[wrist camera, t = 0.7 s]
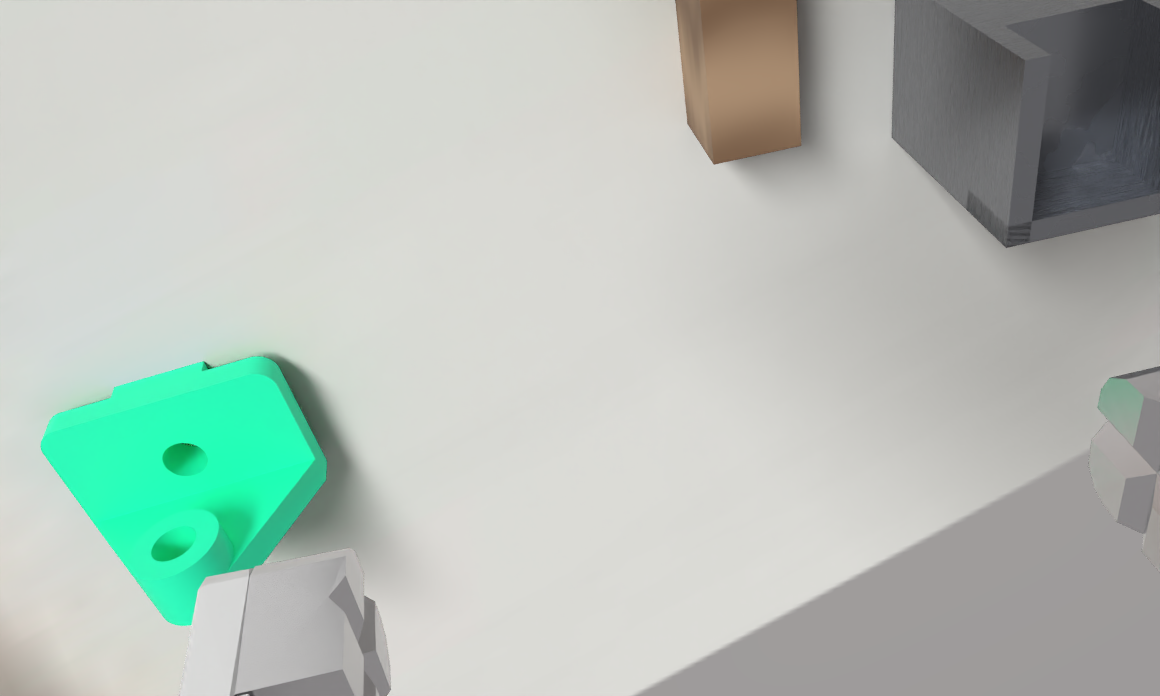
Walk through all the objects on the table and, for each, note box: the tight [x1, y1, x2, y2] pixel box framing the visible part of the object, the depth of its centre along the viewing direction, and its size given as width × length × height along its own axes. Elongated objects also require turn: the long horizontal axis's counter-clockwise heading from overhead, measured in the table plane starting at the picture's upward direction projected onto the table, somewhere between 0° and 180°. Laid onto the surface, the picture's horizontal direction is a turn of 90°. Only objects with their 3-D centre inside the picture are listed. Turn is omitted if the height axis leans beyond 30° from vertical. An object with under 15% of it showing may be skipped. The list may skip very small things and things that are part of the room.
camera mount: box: [41, 356, 327, 626], centre depth 51 cm, size 12×8×10 cm, turn 103°
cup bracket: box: [892, 0, 1160, 248], centre depth 45 cm, size 8×8×12 cm
